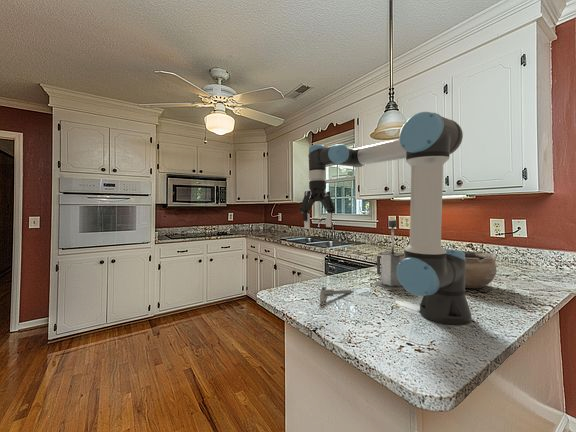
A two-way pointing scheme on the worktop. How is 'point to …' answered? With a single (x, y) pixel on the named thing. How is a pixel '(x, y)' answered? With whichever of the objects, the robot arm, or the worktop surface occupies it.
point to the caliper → (331, 293)
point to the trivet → (387, 286)
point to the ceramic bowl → (479, 269)
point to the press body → (389, 268)
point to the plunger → (392, 231)
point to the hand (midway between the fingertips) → (318, 227)
